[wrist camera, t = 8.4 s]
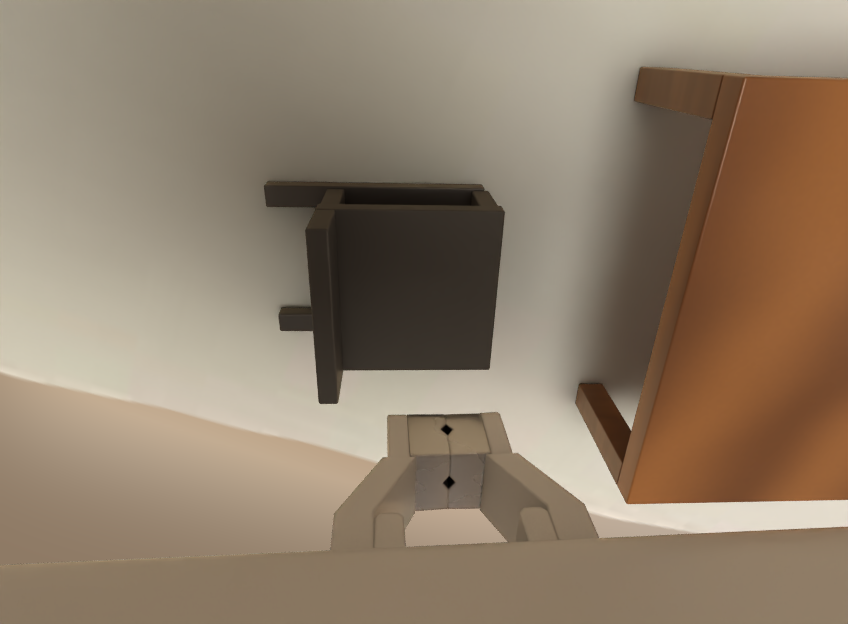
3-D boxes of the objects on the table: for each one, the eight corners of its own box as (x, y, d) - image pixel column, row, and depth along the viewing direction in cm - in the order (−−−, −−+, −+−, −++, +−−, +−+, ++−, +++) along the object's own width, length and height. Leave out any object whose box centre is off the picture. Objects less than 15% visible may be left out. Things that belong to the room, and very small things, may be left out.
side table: (575, 403, 31) (626, 504, 24) (640, 66, 23) (744, 76, 16) (802, 401, 32) (914, 499, 25) (943, 75, 24) (1165, 88, 17)
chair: (282, 324, 28) (250, 405, 22) (267, 181, 24) (223, 228, 18) (476, 324, 28) (499, 403, 22) (487, 184, 25) (518, 231, 19)
